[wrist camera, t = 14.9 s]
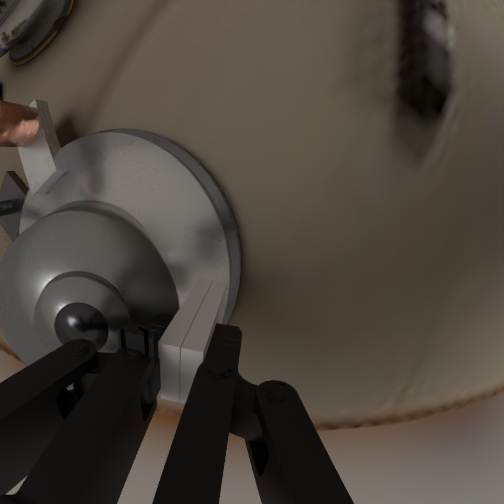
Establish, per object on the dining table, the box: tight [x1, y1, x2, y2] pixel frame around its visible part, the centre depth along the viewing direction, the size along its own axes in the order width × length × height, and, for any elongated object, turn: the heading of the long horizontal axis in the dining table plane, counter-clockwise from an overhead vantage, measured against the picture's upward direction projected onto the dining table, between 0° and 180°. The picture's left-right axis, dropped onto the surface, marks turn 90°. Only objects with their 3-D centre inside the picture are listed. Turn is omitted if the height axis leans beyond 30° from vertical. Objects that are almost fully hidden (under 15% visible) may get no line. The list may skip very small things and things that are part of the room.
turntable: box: [0, 99, 232, 317], centre depth 13 cm, size 18×22×9 cm
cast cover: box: [0, 200, 180, 390], centre depth 11 cm, size 9×9×6 cm
